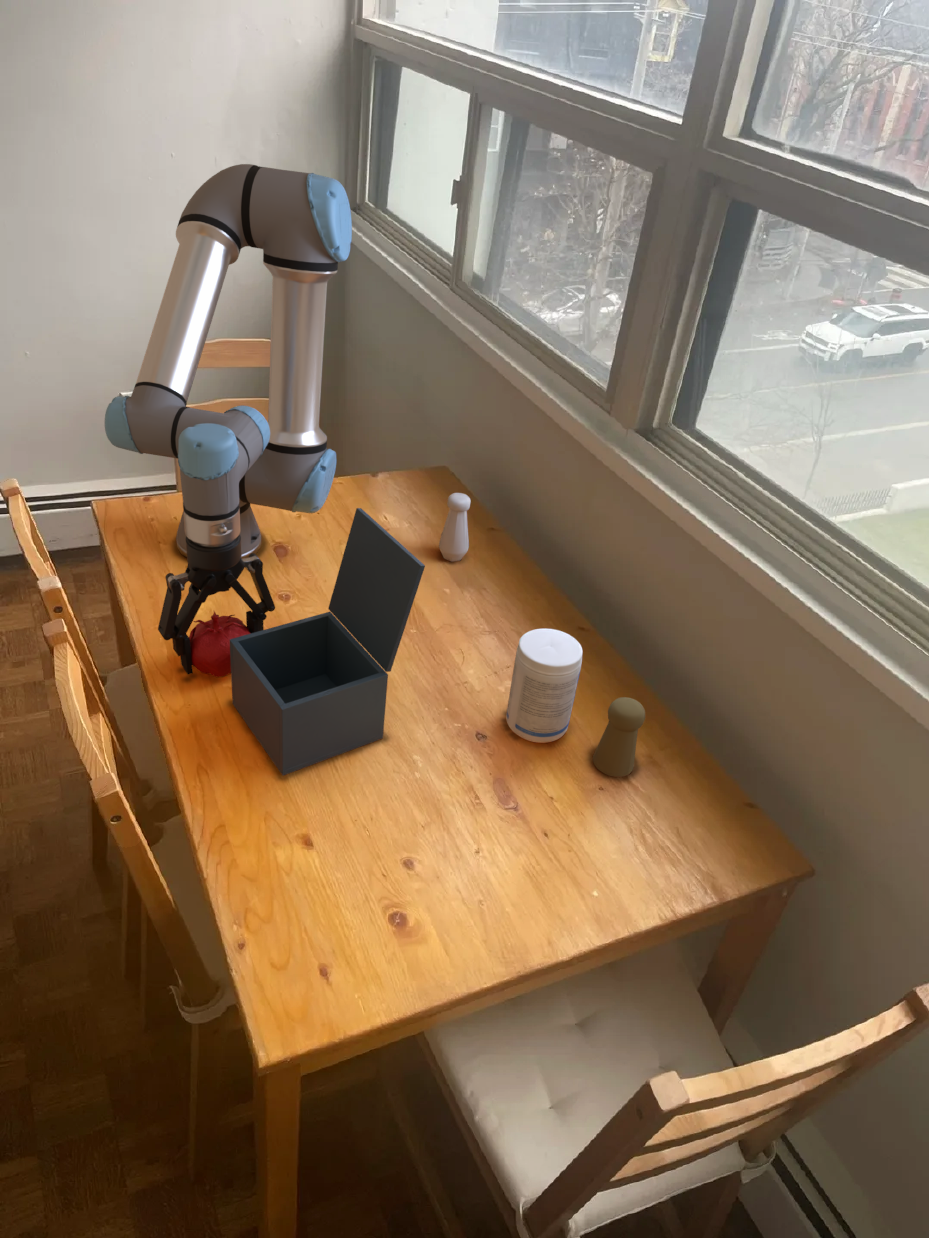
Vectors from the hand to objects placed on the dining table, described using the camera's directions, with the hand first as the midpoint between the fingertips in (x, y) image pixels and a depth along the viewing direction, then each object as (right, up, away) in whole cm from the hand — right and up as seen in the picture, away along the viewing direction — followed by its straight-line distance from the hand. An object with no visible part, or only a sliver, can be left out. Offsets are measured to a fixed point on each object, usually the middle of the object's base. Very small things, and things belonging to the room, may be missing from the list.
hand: (220, 658), depth 139 cm
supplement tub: (+48, -10, -2) cm, 50 cm away
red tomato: (0, -1, +1) cm, 1 cm away
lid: (+25, +10, -14) cm, 30 cm away
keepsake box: (+15, -9, -8) cm, 19 cm away
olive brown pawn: (+59, -15, -7) cm, 62 cm away
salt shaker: (+35, +18, +35) cm, 53 cm away
